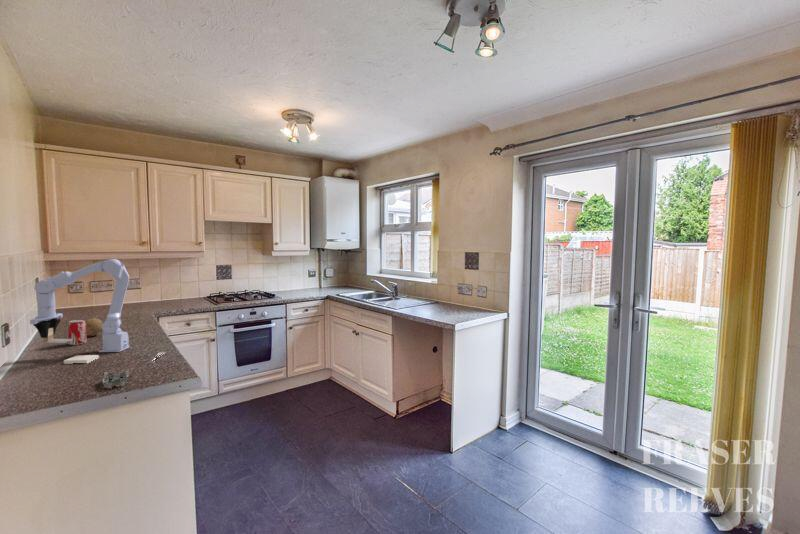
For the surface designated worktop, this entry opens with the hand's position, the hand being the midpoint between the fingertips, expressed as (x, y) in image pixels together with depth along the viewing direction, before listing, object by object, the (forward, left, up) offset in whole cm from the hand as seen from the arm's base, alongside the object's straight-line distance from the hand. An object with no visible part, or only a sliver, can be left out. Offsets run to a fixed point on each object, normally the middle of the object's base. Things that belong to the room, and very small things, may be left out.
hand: (47, 336), depth 159 cm
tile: (-14, +6, -9) cm, 17 cm away
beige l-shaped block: (-3, 0, -2) cm, 4 cm away
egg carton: (-49, +34, -10) cm, 60 cm away
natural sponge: (+6, -37, -10) cm, 39 cm away
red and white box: (+3, -21, -10) cm, 24 cm away
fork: (-49, +10, -10) cm, 51 cm away
